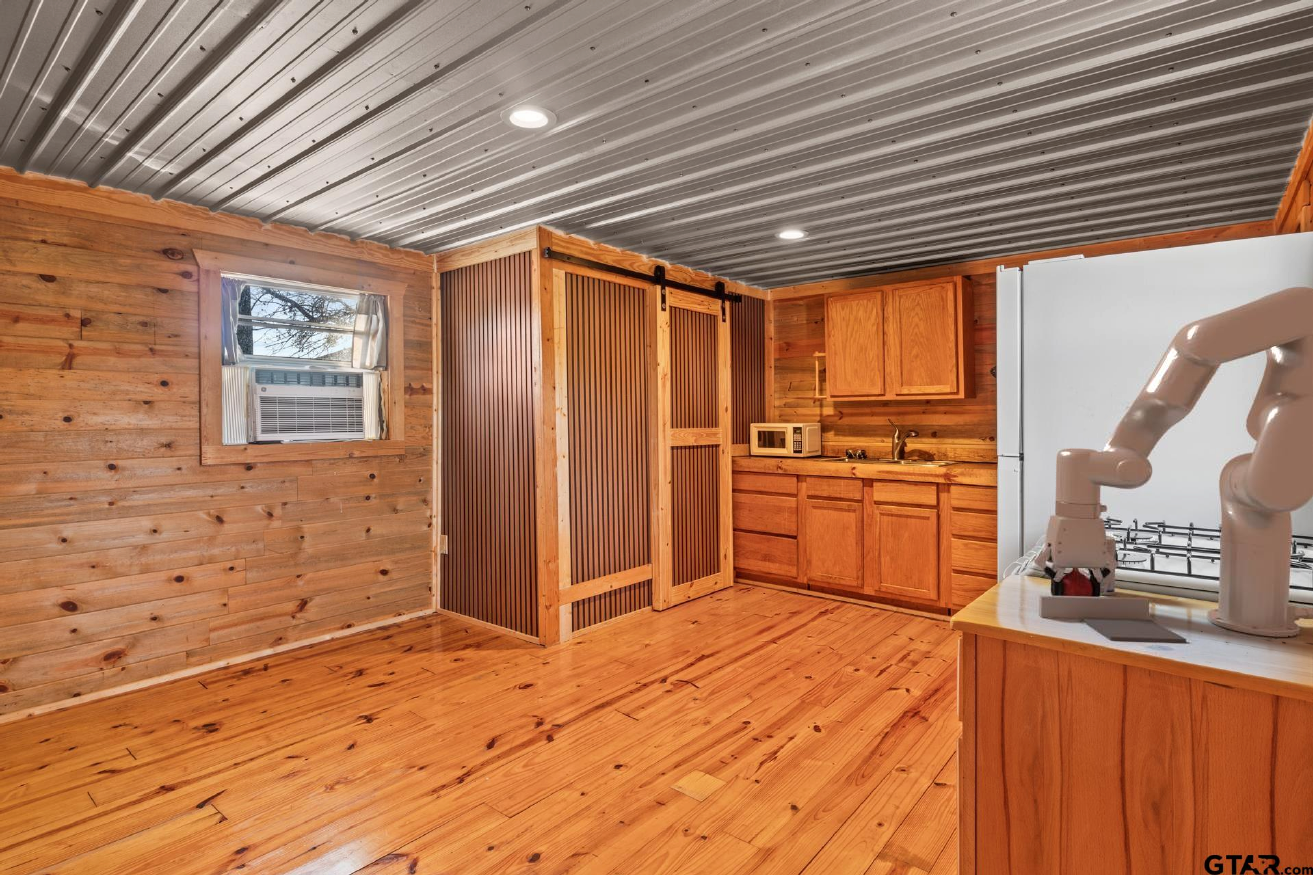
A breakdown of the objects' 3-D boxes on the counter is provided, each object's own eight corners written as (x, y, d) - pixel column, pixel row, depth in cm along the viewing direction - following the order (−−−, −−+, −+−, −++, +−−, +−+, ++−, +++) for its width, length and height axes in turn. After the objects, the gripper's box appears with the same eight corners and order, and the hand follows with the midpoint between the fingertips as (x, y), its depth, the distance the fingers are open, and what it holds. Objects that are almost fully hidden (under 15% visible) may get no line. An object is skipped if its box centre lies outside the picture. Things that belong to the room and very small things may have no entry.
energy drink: (1113, 590, 145) (1115, 536, 144) (1115, 597, 140) (1116, 540, 140) (1084, 587, 148) (1085, 533, 147) (1084, 593, 143) (1086, 538, 142)
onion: (1097, 611, 131) (1098, 571, 130) (1064, 610, 132) (1065, 570, 132) (1084, 603, 137) (1085, 564, 136) (1053, 601, 138) (1054, 563, 137)
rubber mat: (1150, 622, 124) (1150, 619, 124) (1186, 642, 114) (1186, 639, 114) (1081, 621, 126) (1081, 617, 126) (1110, 640, 116) (1110, 636, 116)
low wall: (1145, 618, 127) (1146, 597, 126) (1148, 620, 126) (1149, 599, 125) (1038, 615, 129) (1039, 595, 129) (1041, 617, 128) (1041, 596, 128)
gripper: (1113, 508, 136) (1110, 595, 137) (1023, 507, 138) (1021, 593, 139) (1134, 514, 128) (1132, 606, 129) (1039, 513, 131) (1037, 604, 132)
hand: (1075, 598), depth 134 cm, fingers closed on onion, 5 cm apart
